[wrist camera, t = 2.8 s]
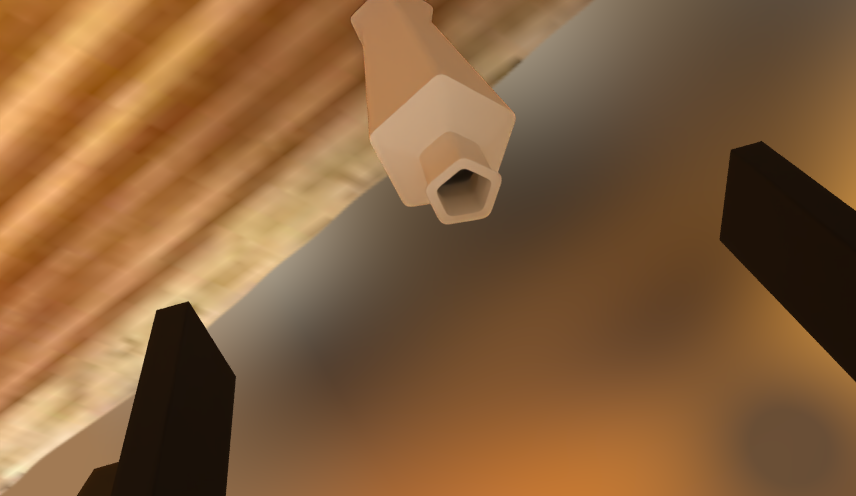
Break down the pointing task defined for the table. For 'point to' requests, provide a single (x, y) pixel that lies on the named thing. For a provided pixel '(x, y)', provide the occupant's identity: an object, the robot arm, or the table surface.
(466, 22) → the table surface
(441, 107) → the perfume bottle
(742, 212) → the robot arm
